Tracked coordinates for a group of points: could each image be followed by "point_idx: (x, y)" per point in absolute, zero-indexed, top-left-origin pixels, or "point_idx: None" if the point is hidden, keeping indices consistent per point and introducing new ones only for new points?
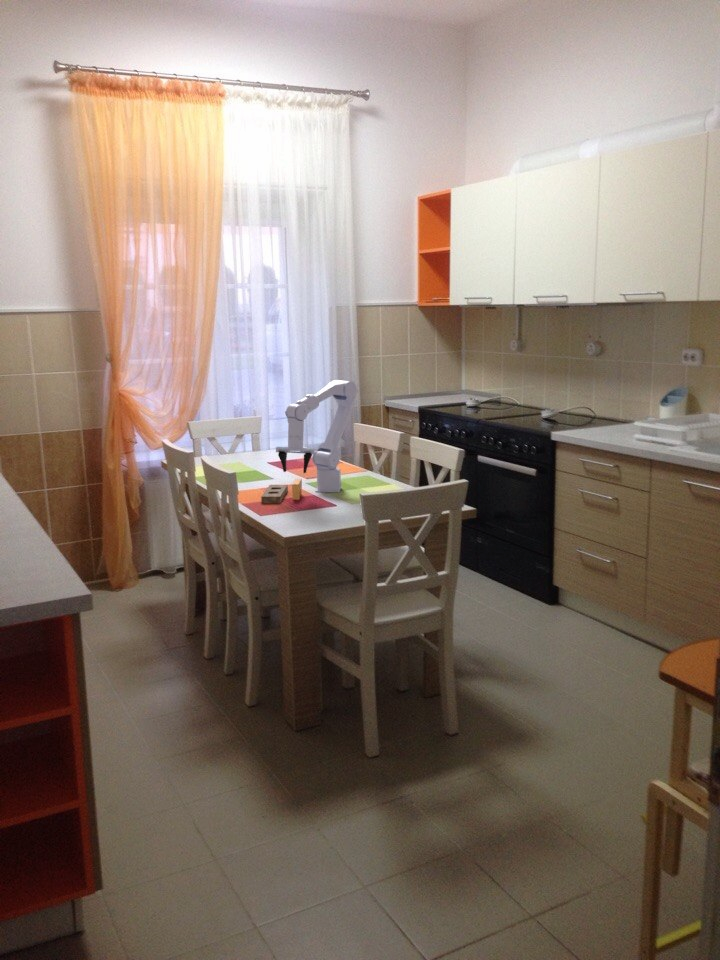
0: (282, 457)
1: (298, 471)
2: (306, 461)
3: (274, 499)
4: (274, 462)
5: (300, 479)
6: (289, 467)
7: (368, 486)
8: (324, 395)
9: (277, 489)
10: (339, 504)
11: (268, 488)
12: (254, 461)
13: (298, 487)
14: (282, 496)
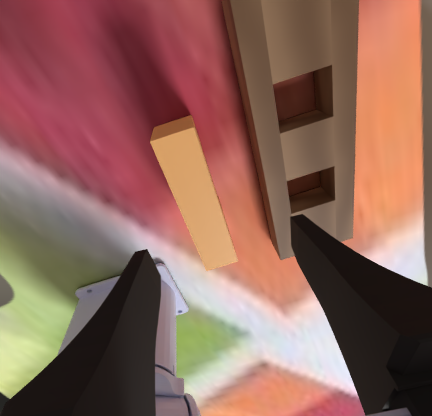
0: (396, 301)
1: (306, 392)
2: (83, 339)
3: None
4: None
5: (203, 255)
6: (333, 403)
7: (44, 367)
8: None
9: (300, 174)
10: None
11: (347, 177)
12: None
13: (152, 135)
14: (245, 100)
